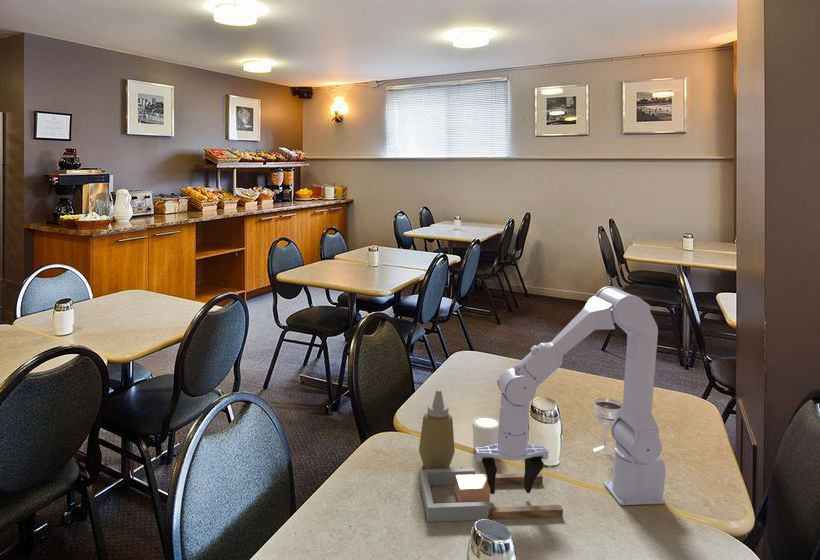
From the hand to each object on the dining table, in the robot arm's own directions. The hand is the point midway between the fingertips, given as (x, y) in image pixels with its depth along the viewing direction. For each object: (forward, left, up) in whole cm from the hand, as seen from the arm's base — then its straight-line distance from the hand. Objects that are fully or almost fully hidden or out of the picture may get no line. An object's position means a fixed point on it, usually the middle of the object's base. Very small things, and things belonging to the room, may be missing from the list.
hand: (509, 490), depth 106 cm
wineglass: (-29, -18, -2) cm, 34 cm away
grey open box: (+11, 0, -2) cm, 11 cm away
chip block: (+8, 0, -2) cm, 8 cm away
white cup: (0, -20, -2) cm, 20 cm away
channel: (-2, 0, -2) cm, 2 cm away
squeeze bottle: (+13, -13, -2) cm, 19 cm away
